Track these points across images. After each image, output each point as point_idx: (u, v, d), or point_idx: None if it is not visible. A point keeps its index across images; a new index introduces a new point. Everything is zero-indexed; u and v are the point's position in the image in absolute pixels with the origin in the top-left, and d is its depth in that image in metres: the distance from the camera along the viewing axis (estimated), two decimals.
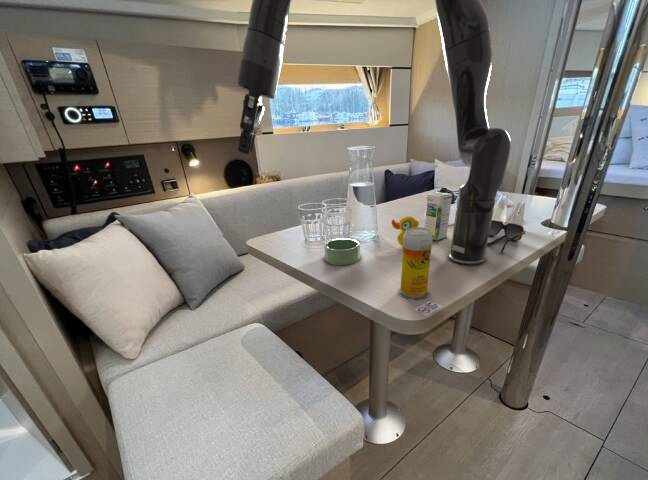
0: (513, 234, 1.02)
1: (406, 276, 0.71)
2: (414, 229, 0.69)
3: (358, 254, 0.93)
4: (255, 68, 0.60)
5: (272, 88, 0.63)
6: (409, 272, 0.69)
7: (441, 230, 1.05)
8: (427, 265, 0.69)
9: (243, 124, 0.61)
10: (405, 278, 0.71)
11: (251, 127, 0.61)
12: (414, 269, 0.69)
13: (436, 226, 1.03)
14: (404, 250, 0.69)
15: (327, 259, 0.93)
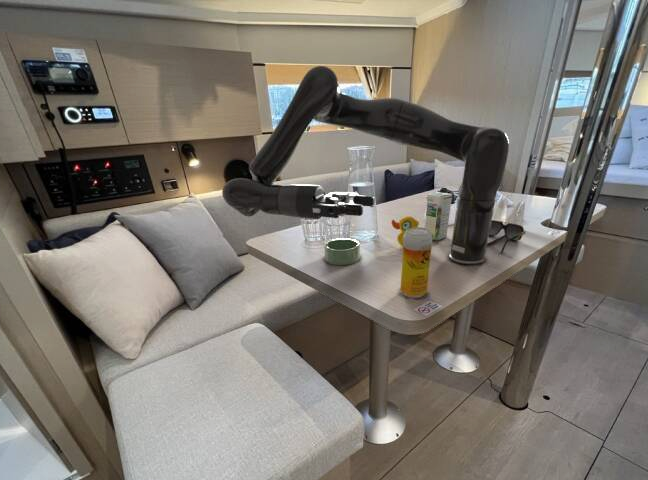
0: (513, 234, 1.02)
1: (406, 276, 0.71)
2: (414, 229, 0.69)
3: (358, 254, 0.93)
4: (299, 208, 0.71)
5: (308, 190, 0.70)
6: (409, 272, 0.69)
7: (441, 230, 1.05)
8: (427, 265, 0.69)
9: (334, 215, 0.65)
10: (405, 278, 0.71)
11: (333, 207, 0.64)
12: (414, 269, 0.69)
13: (436, 226, 1.03)
14: (404, 250, 0.69)
15: (327, 259, 0.93)
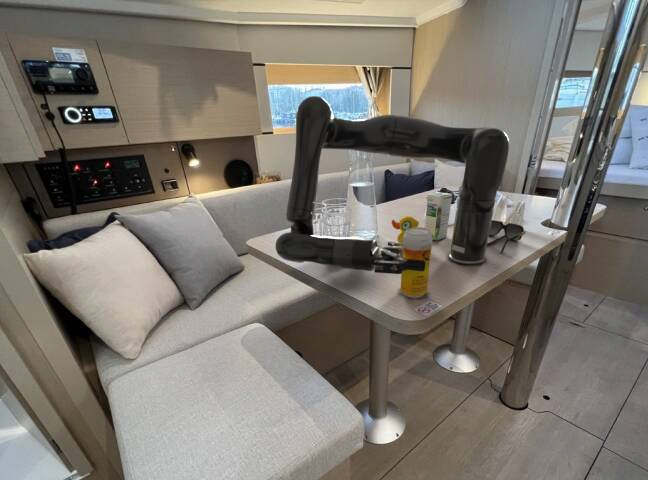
0: (513, 234, 1.02)
1: (406, 276, 0.71)
2: (414, 229, 0.69)
3: None
4: (355, 262, 0.72)
5: (365, 245, 0.71)
6: (409, 272, 0.69)
7: (441, 230, 1.05)
8: (427, 265, 0.69)
9: (397, 271, 0.67)
10: (405, 278, 0.71)
11: (398, 264, 0.66)
12: None
13: (436, 226, 1.03)
14: (404, 250, 0.69)
15: None
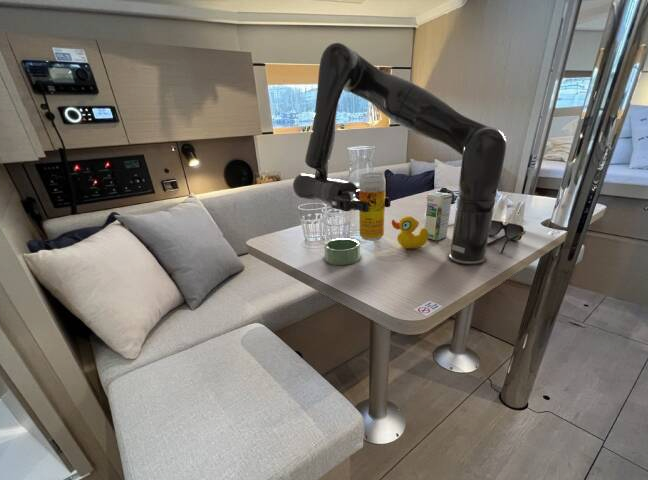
0: (513, 234, 1.02)
1: None
2: (374, 174, 0.74)
3: (358, 254, 0.93)
4: (330, 199, 0.84)
5: (338, 185, 0.82)
6: (360, 213, 0.76)
7: (441, 230, 1.05)
8: (375, 209, 0.74)
9: (344, 208, 0.76)
10: None
11: (344, 202, 0.75)
12: None
13: (436, 226, 1.03)
14: None
15: (327, 259, 0.93)
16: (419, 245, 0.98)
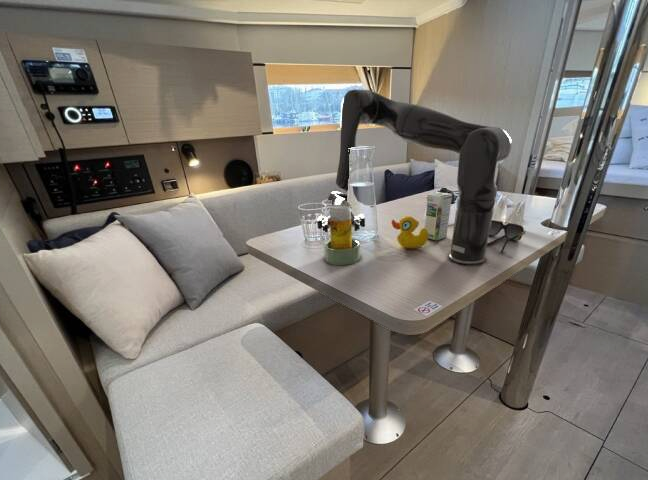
0: (513, 234, 1.02)
1: None
2: (345, 206, 0.89)
3: (358, 254, 0.93)
4: None
5: None
6: None
7: (441, 230, 1.05)
8: (336, 234, 0.90)
9: None
10: None
11: None
12: None
13: (436, 226, 1.03)
14: None
15: (327, 259, 0.93)
16: (419, 245, 0.98)
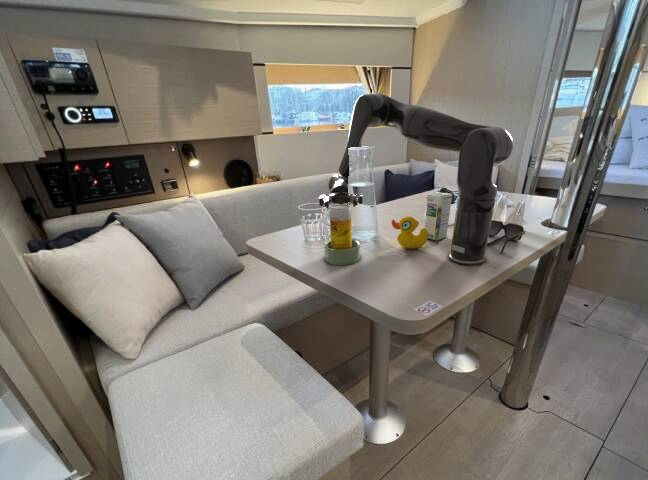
0: (513, 234, 1.02)
1: None
2: (345, 206, 0.89)
3: (358, 254, 0.93)
4: None
5: (334, 187, 1.09)
6: None
7: (441, 230, 1.05)
8: (336, 234, 0.90)
9: None
10: None
11: (319, 199, 1.03)
12: None
13: (436, 226, 1.03)
14: None
15: (327, 259, 0.93)
16: (419, 245, 0.98)
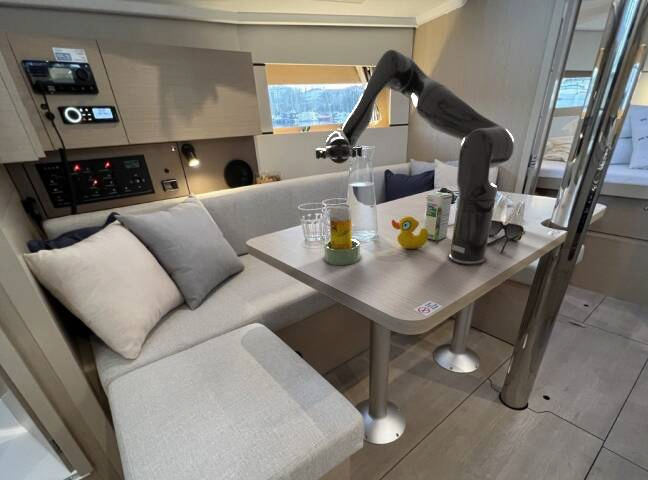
0: (513, 234, 1.02)
1: None
2: (345, 206, 0.89)
3: (358, 254, 0.93)
4: None
5: (332, 140, 1.02)
6: None
7: (441, 230, 1.05)
8: (336, 234, 0.90)
9: None
10: None
11: None
12: None
13: (436, 226, 1.03)
14: None
15: (327, 259, 0.93)
16: (419, 245, 0.98)
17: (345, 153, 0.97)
